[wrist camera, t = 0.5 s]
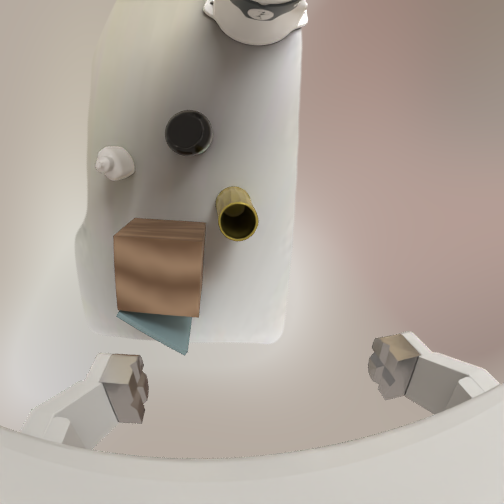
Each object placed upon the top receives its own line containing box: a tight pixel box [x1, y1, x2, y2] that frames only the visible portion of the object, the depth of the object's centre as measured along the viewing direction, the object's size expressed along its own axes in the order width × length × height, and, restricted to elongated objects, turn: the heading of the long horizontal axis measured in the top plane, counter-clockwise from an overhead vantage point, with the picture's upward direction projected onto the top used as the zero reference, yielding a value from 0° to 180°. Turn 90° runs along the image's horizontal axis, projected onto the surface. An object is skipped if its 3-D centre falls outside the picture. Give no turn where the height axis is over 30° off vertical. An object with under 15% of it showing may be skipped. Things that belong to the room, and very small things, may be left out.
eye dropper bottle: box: [95, 146, 135, 181], centre depth 43 cm, size 4×6×12 cm
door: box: [117, 310, 192, 355], centre depth 51 cm, size 2×13×11 cm, turn 54°
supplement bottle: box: [165, 110, 213, 156], centre depth 43 cm, size 7×7×12 cm
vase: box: [216, 187, 258, 241], centre depth 46 cm, size 6×6×14 cm
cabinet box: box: [113, 218, 206, 317], centre depth 49 cm, size 12×13×12 cm
